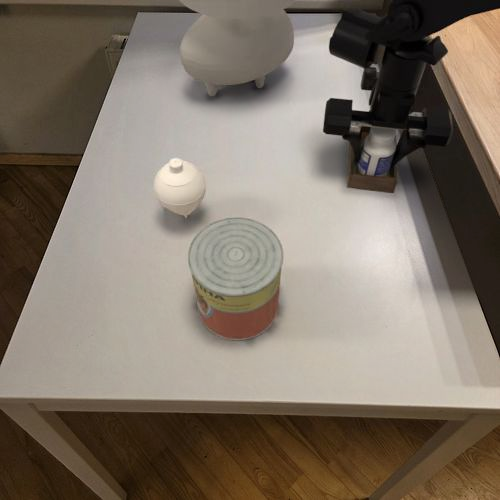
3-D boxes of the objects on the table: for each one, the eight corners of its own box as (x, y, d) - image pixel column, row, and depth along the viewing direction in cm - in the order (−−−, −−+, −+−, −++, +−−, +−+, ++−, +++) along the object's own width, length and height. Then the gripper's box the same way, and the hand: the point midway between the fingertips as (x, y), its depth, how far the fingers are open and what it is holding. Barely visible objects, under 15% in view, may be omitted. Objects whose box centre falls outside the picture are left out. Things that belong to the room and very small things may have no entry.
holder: (391, 134, 84) (395, 122, 81) (393, 193, 75) (398, 180, 73) (349, 130, 84) (352, 117, 82) (346, 187, 76) (349, 175, 73)
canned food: (186, 285, 65) (175, 234, 55) (257, 259, 67) (258, 206, 58) (215, 353, 59) (208, 310, 49) (292, 321, 61) (300, 274, 52)
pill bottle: (389, 165, 78) (403, 123, 71) (384, 186, 75) (398, 145, 68) (359, 158, 79) (369, 116, 72) (353, 178, 76) (363, 137, 69)
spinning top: (200, 241, 69) (191, 187, 60) (154, 230, 71) (138, 175, 61) (216, 205, 74) (211, 149, 64) (173, 195, 75) (161, 138, 65)
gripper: (461, 53, 66) (428, 136, 79) (334, 42, 68) (321, 125, 81) (470, 99, 60) (432, 182, 73) (330, 86, 62) (316, 169, 74)
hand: (374, 162), depth 75 cm, fingers open, 5 cm apart
